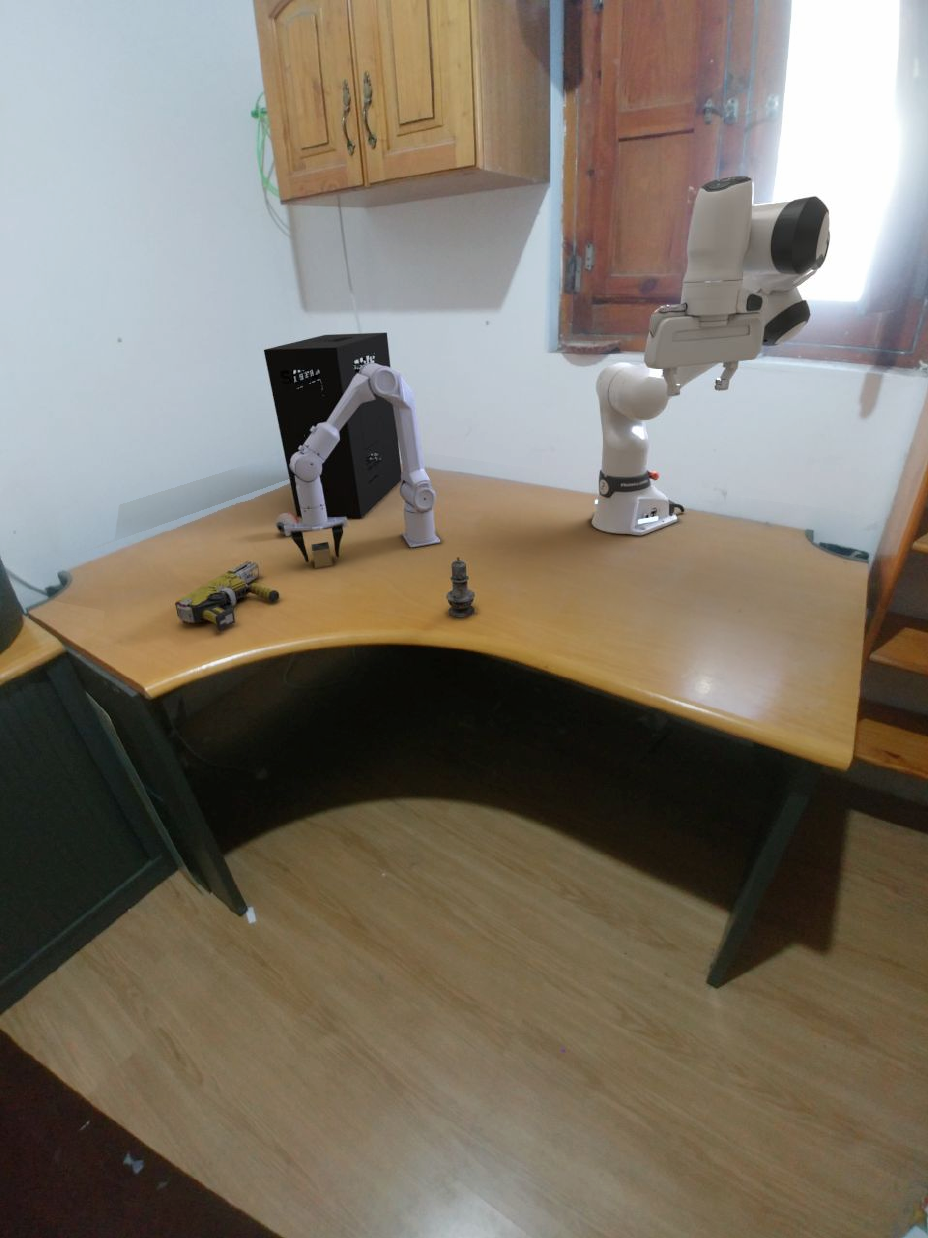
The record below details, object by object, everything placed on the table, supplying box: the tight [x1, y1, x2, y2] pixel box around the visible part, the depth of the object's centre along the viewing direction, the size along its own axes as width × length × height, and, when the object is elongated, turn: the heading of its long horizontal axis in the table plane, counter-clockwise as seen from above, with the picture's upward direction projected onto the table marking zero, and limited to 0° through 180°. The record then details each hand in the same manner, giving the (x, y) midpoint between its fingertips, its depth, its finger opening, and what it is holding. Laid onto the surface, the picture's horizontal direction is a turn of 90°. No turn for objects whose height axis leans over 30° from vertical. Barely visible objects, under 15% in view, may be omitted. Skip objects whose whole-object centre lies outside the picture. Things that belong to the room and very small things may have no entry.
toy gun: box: [174, 560, 280, 631], centre depth 130 cm, size 5×24×15 cm
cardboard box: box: [263, 332, 402, 519], centre depth 180 cm, size 38×20×45 cm, turn 167°
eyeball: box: [275, 511, 300, 535], centre depth 163 cm, size 6×6×6 cm
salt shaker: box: [445, 556, 476, 618], centre depth 120 cm, size 6×6×12 cm
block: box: [310, 541, 333, 569], centre depth 146 cm, size 4×5×4 cm
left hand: (322, 558), depth 147 cm, fingers open, 7 cm apart
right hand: (697, 392), depth 103 cm, fingers open, 8 cm apart
